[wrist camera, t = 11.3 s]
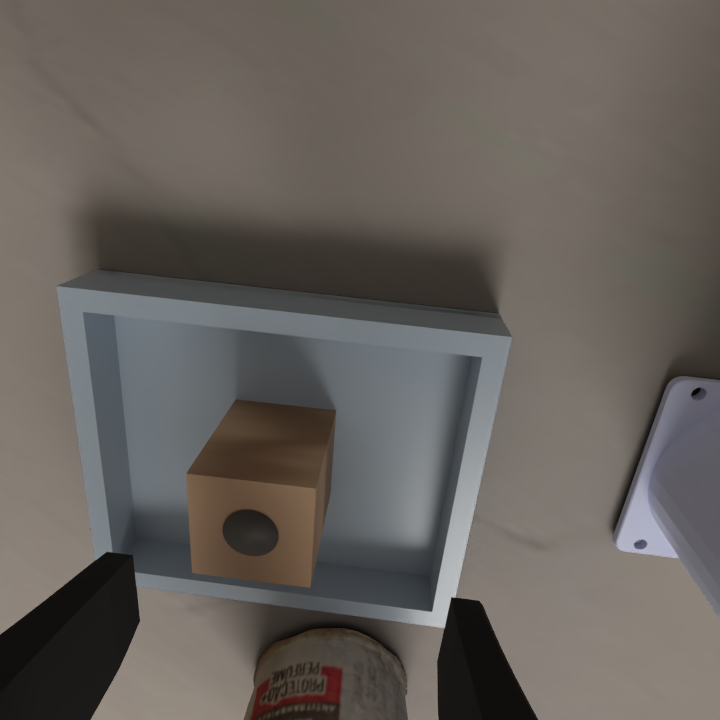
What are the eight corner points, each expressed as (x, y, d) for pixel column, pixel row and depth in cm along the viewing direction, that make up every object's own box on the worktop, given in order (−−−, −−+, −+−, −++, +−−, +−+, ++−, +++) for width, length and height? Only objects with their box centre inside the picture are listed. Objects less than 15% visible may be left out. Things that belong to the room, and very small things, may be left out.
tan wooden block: (336, 410, 20) (316, 489, 16) (330, 494, 22) (310, 588, 17) (235, 399, 20) (185, 474, 16) (236, 483, 22) (191, 574, 17)
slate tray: (499, 313, 19) (512, 337, 16) (444, 581, 24) (448, 628, 22) (97, 269, 19) (56, 286, 17) (127, 540, 24) (98, 581, 22)
